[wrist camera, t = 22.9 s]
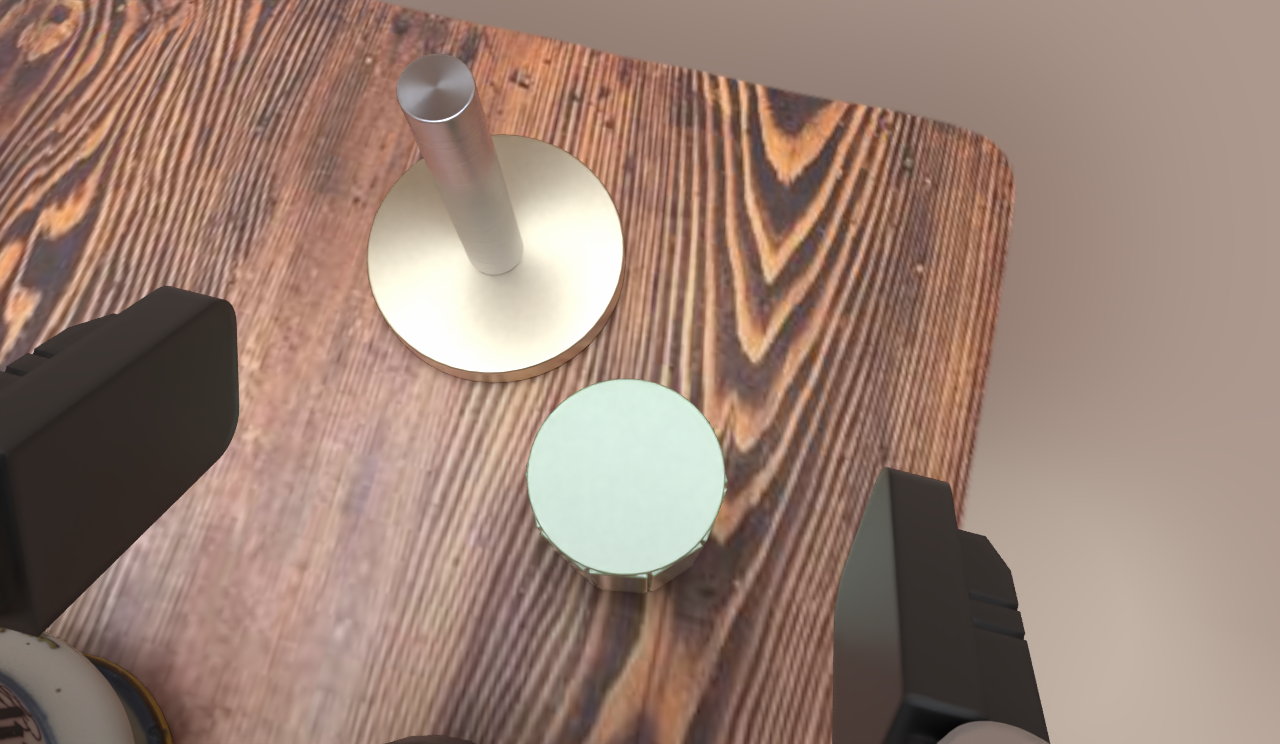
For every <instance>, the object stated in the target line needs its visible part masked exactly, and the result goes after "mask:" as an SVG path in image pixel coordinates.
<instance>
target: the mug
mask: <svg viewBox="0 0 1280 744" xmlns="http://www.w3.org/2000/svg"><path fill="white" fill-rule="evenodd" d="M385 744H476V743H474V742H472V741H467V740H462V739H457V738H452V737H447V736H442V735H428V736H410V737H407V738H403V739H400V740H396V741H392V742H389V743H385Z"/></svg>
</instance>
